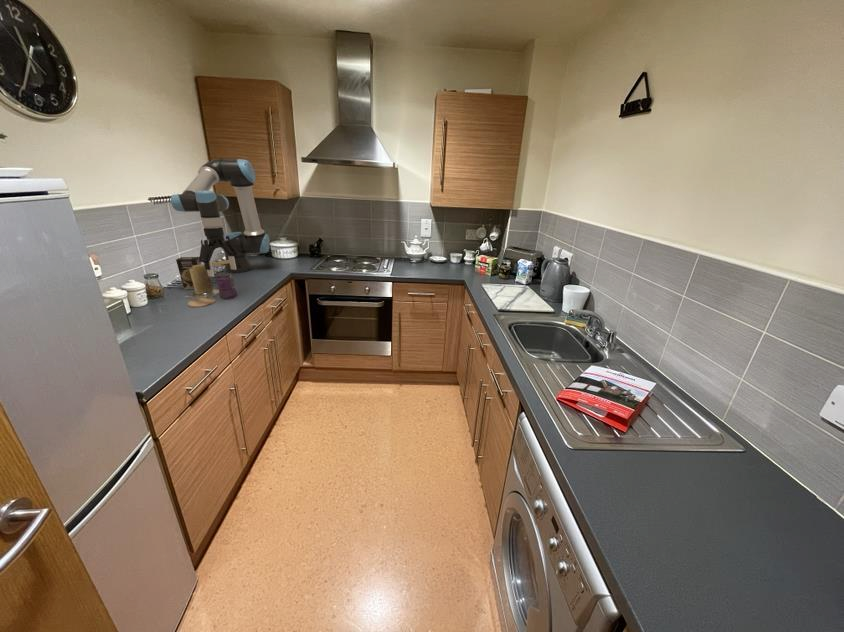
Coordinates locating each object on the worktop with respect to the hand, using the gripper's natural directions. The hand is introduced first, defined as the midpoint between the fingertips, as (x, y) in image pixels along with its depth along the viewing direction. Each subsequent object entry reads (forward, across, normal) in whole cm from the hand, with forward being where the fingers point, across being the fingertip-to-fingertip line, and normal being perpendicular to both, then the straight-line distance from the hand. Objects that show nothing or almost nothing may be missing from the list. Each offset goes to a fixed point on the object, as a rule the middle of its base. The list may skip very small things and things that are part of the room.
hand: (223, 272), depth 153 cm
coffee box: (+13, -8, -28) cm, 32 cm away
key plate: (+13, 0, -14) cm, 19 cm away
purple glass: (+13, 0, 0) cm, 13 cm away
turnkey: (+11, -6, -12) cm, 17 cm away
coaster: (+13, +10, -6) cm, 17 cm away
